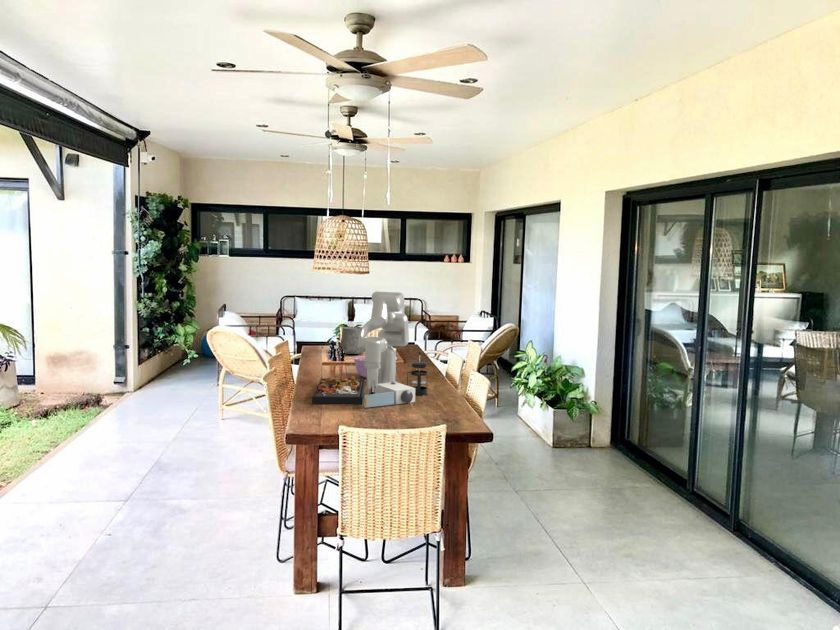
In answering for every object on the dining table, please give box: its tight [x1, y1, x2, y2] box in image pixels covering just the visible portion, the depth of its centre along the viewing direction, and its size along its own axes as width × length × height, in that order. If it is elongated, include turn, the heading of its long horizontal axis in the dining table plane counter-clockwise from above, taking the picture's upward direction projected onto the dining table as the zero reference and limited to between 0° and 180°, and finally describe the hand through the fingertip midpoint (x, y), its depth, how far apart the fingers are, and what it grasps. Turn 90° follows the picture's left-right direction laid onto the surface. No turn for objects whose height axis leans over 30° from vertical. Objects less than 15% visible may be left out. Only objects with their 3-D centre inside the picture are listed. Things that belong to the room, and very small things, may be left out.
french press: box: [406, 350, 429, 397], centre depth 337 cm, size 12×9×23 cm
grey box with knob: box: [375, 381, 416, 406], centre depth 323 cm, size 20×12×8 cm, turn 37°
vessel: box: [339, 326, 364, 355], centre depth 462 cm, size 22×22×20 cm
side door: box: [363, 391, 397, 408], centre depth 307 cm, size 17×2×6 cm, turn 121°
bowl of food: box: [353, 355, 379, 379], centre depth 380 cm, size 20×20×12 cm
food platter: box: [311, 375, 366, 406], centre depth 332 cm, size 45×25×10 cm, turn 4°
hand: (372, 401), depth 309 cm, fingers closed
